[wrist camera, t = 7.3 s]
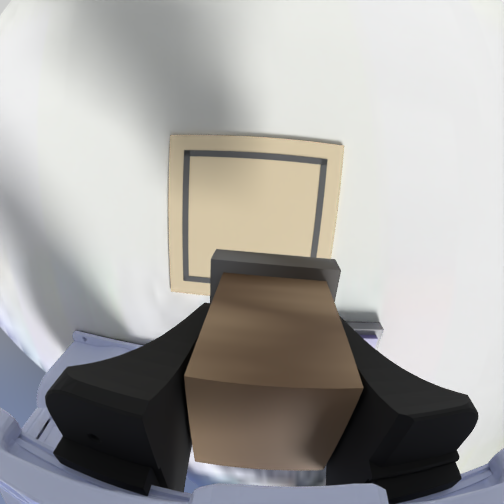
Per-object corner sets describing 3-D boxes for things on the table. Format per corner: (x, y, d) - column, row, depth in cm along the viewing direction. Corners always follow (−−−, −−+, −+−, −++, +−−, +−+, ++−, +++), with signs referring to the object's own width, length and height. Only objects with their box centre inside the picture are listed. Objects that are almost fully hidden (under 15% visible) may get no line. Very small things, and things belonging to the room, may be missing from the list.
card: (171, 290, 21) (170, 291, 21) (171, 135, 18) (170, 135, 17) (322, 303, 21) (322, 304, 21) (343, 145, 17) (344, 145, 17)
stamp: (214, 344, 14) (181, 465, 7) (216, 248, 12) (159, 355, 6) (315, 353, 14) (334, 475, 7) (334, 259, 12) (389, 371, 6)
